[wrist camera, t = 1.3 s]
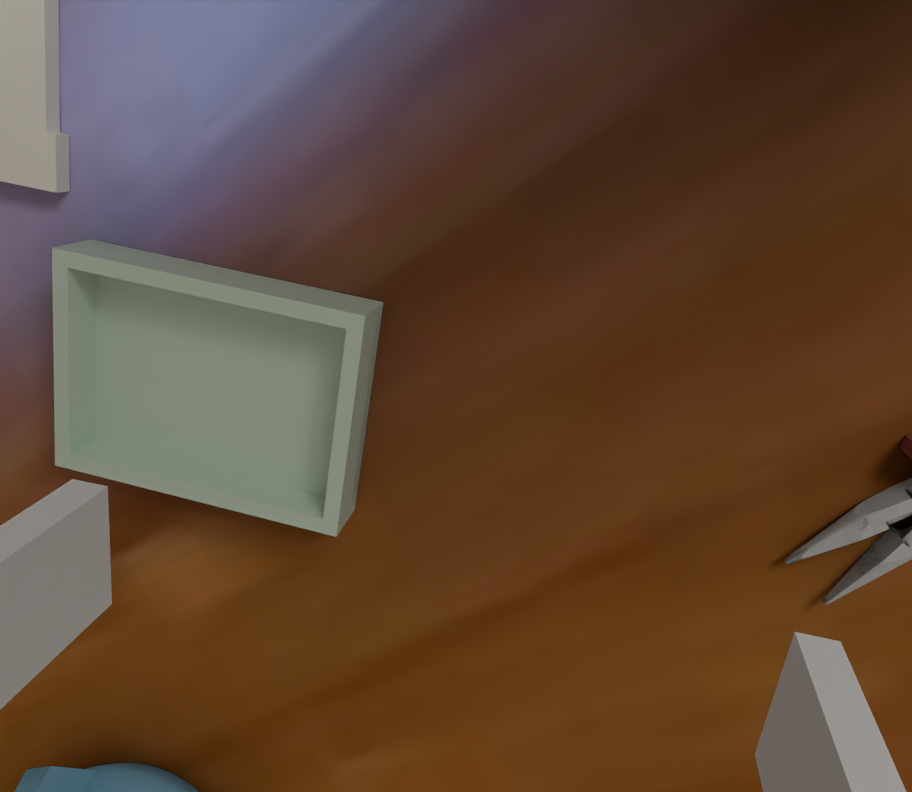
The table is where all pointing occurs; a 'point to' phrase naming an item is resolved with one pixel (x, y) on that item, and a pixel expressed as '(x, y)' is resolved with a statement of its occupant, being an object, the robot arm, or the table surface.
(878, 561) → the pliers
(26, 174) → the socket plate
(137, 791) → the teapot
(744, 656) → the table surface
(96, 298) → the tray
